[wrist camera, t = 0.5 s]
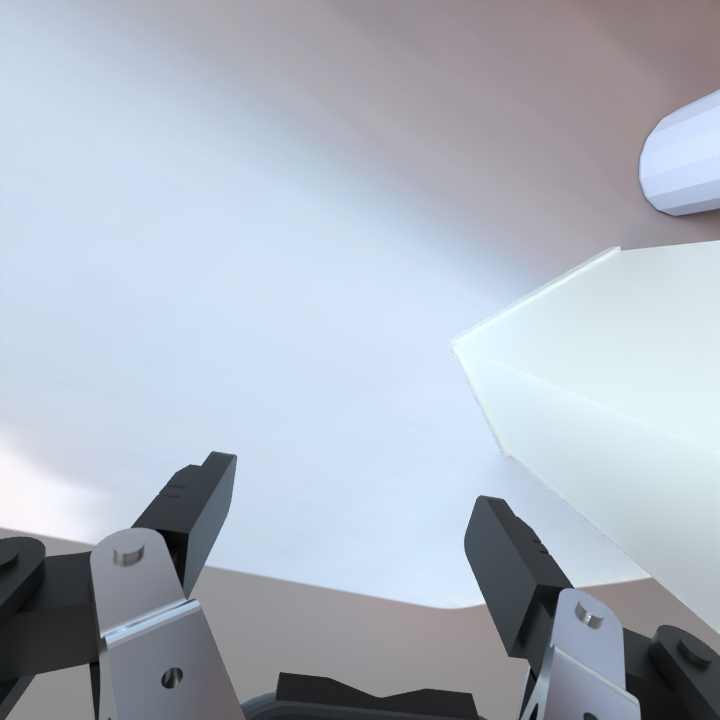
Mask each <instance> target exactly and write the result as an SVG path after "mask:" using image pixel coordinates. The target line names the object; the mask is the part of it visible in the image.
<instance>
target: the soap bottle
mask: <svg viewBox="0 0 720 720" xmlns="http://www.w3.org/2000/svg"><path fill="white" fill-rule="evenodd" d="M639 180H640V183H641V186H642V189H643V192H644V195H645V198H646V199H647V200H648V201H649V202H650V203H651V204H652V205H653V206H654V207H655V208H656V209H657V210H659V211H662V212H665V213H668V214H670V215H673V216H677V215H685V214H692V213H697V212H703V211H708V210H714V209H719V208H720V90H718V91H716V92H713V93H711V94H709V95H707V96H705V97H703V98H701V99H699V100H697V101H694V102H692V103H690V104H688V105H686V106H684V107H682V108H680V109H678V110H676V111H675V112H673V113H671V114H670V115H668V116H667V117H665V118H663V119H662V120H661V121H660V122H659V124H658V125H657V126H656V127H655V129H654V130H653V131H652V133H651V134H650V135H649V136H648V138H647V140H646V143H645V145H644V148H643V151H642V154H641V157H640V166H639Z"/></svg>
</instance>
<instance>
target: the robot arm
mask: <svg viewBox="0 0 720 720" xmlns="http://www.w3.org/2000/svg"><path fill="white" fill-rule="evenodd" d="M236 462H237V456H236V455H233V454H227V453H221V452H215V451H212V452H211V453H210V455H209V456H208V457H207V459H206V460H205V462H204V463H203V464H202V466H197V465H191V464H190V465H188V466H187V467H185V468H183V469H181V470H180V471H178V472H176V473H175V474H174V475H173V477H172V478H171V479H170V480H169V482H168V483H167V485H166V486H164V488H163V489H162V490H161V491H160V493H159V495H157V496H156V497H155V499H154V500H153V501H152V502H151V504H150V505H149V506H148V507H147V508H146V510H145V511H144V512H143V513H142V515H141V516H140V517H139V518H138V519H137V521H136V522H135V523H134V524H133V526H132V527H131V528H130V529H125V530H122V531H118V532H116V533H114V534H111V535H110V536H108V537H106V538H105V539H103V540H102V541H101V542H100V543H98V544H97V546H96V547H95V548H94V550H93V551H90V552H85V553H77V554H69V555H58V556H49V557H46V556H45V553H46V552H45V546H44V544H43V543H42V542H41V541H39V540H37V539H34V538H29V537H11V538H4V539H0V720H5V719H6V717H7V716H8V714H9V713H10V711H11V710H12V709H13V707H14V706H15V704H16V703H17V701H18V700H19V699H20V697H21V696H22V694H23V693H24V691H25V690H26V688H27V687H28V685H29V684H30V683H31V681H32V679H33V678H34V677H35V675H36V674H40V673H45V672H50V671H55V670H59V669H64V668H69V667H74V666H79V665H84V664H87V673H88V683H89V693H90V703H91V713H92V720H487V719H485V718H484V717H482V716H479V715H478V714H477V710H476V707H475V703H474V700H473V697H472V694H471V693H462V692H453V691H444V690H435V689H422V690H417V691H412V692H407V693H403V694H398V695H393V696H389V697H384V698H379V697H375V696H372V695H369V694H367V693H365V692H362V691H360V690H357V689H355V688H353V687H350V686H348V685H345V684H343V683H340V682H338V681H336V680H333V679H331V678H327V677H318V676H309V675H300V674H290V673H282V672H280V674H279V679H278V684H277V689H276V692H272V693H268V694H264V695H261V696H259V697H255V698H253V699H251V700H249V701H247V702H245V703H243V704H241V705H240V703H239V701H238V698H237V696H236V693H235V691H234V688H233V686H232V683H231V681H230V678H229V676H228V673H227V671H226V668H225V666H224V663H223V661H222V658H221V656H220V653H219V651H218V648H217V646H216V643H215V640H214V638H213V635H212V633H211V630H210V628H209V625H208V623H207V620H206V618H205V615H204V613H203V610H202V608H201V606H200V604H199V602H198V601H197V600H196V599H192V600H190V601H187V600H188V598H189V596H190V594H191V591H192V589H193V587H194V585H195V583H196V581H197V578H198V577H199V574H200V572H201V570H202V568H203V566H204V564H205V562H206V560H207V557H208V555H209V553H210V551H211V549H212V547H213V545H214V543H215V540H216V538H217V536H218V534H219V532H220V530H221V528H222V526H223V523H224V521H225V519H226V517H227V514H228V511H229V507H230V503H231V498H232V491H233V484H234V477H235V470H236ZM464 548H465V553H466V556H467V559H468V561H469V563H470V566H471V568H472V571H473V573H474V575H475V578H476V580H477V582H478V585H479V587H480V590H481V592H482V594H483V597H484V599H485V601H486V604H487V606H488V609H489V611H490V613H491V616H492V618H493V620H494V623H495V625H496V628H497V630H498V632H499V635H500V637H501V639H502V642H503V644H504V647H505V649H506V651H507V654H508V656H509V657H515V658H524V659H527V660H528V662H529V664H530V667H529V669H528V672H527V674H526V677H525V681H524V686H523V690H522V694H521V698H520V703H519V707H518V712H517V715H516V720H720V656H719V655H718V654H717V653H716V652H715V651H714V650H713V649H711V648H710V647H709V646H707V645H706V644H705V643H704V642H702V641H701V640H699V639H698V638H696V637H695V636H693V635H692V634H690V633H688V632H686V631H684V630H682V629H680V628H677V627H674V626H670V625H662V626H659V627H658V629H657V631H656V633H655V635H654V637H653V639H651V638H648V637H645V636H643V635H640V634H638V633H635V632H633V631H630V630H628V629H625V628H623V627H622V626H621V624H620V622H619V620H618V619H617V617H616V616H615V615H614V613H613V612H612V611H611V610H610V609H609V608H608V607H607V606H606V605H604V604H603V603H602V602H601V601H599V600H598V599H596V598H595V597H593V596H591V595H589V594H588V593H586V592H583V591H581V590H577V589H575V588H574V587H573V585H572V584H571V583H570V581H569V580H568V578H567V577H566V576H565V574H564V573H563V571H562V570H561V569H560V567H559V566H558V564H557V563H556V562H555V560H554V559H553V557H552V556H551V555H549V552H548V550H547V549H546V548H545V546H544V545H543V544H541V541H540V539H539V538H538V536H537V535H536V534H535V532H534V531H533V529H532V528H531V527H529V526H528V525H527V524H526V523H525V522H524V521H522V520H521V519H520V518H519V517H516V516H515V514H514V513H513V511H512V510H511V509H510V507H509V506H508V504H507V503H506V501H505V500H504V499H501V498H495V497H488V496H482V495H481V496H479V497H478V498H477V500H476V502H475V505H474V508H473V512H472V515H471V518H470V521H469V524H468V527H467V530H466V534H465V539H464Z"/></svg>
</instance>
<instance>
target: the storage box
mask: <svg viewBox="0 0 720 720" xmlns="http://www.w3.org/2000/svg"><path fill="white" fill-rule="evenodd" d="M447 342H448V345H449V347H450V349H451V351H452V353H453V355H454V357H455V359H456V361H457V363H458V365H459V367H460V369H461V371H462V373H463V375H464V377H465V379H466V381H467V383H468V385H469V387H470V389H471V391H472V393H473V395H474V397H475V399H476V401H477V403H478V405H479V407H480V409H481V411H482V414H483V416H484V418H485V420H486V422H487V424H488V426H489V428H490V430H491V432H492V434H493V436H494V438H495V440H496V442H497V444H498V446H499V448H500V450H501V452H502V453H503V454H504V455H505V456H506V457H507V458H510V457H511V456H513V457H514V458H515V459H516V460H517V461H518V462H519V463H521V464H522V465H523V466H524V467H525V468H526V469H528V470H529V471H530V472H531V473H532V474H533V475H535V476H536V477H537V478H538V479H539V480H540V481H542V482H543V483H544V484H545V485H546V486H547V487H549V488H550V489H551V490H552V491H553V492H554V493H556V494H557V495H558V496H559V497H560V498H561V499H563V500H564V501H565V502H566V503H567V504H568V505H569V506H571V507H572V508H573V509H574V510H575V511H576V512H578V513H579V514H580V515H581V516H582V517H583V518H585V519H586V520H587V521H588V522H589V523H590V524H592V525H593V526H594V527H595V528H596V529H597V530H599V531H600V532H601V533H602V534H603V535H604V536H606V537H607V538H608V539H609V540H610V541H611V542H613V543H614V544H615V545H616V546H617V547H618V548H619V549H621V550H622V551H623V552H624V553H625V554H626V555H628V556H629V557H630V558H631V559H632V560H633V561H635V562H636V563H637V564H638V565H639V566H640V567H642V568H643V569H644V570H645V571H646V572H647V573H649V574H650V575H651V576H652V577H653V578H654V579H656V580H657V581H658V582H659V583H660V584H661V585H663V586H664V587H665V588H666V589H667V590H668V591H669V592H671V593H672V594H673V595H674V596H675V597H677V598H678V599H679V600H680V601H681V602H682V603H683V604H685V605H686V606H687V607H688V608H689V609H690V610H692V611H693V612H694V613H695V614H696V615H697V616H699V617H700V618H701V619H702V620H703V621H704V622H706V623H707V624H708V625H709V626H710V627H711V628H713V629H714V630H715V631H716V632H717V633H718V634H720V240H719V241H710V242H700V243H690V244H681V245H671V246H662V247H652V248H643V249H633V250H623V251H621V248H620V246H617V247H609V248H607V249H605V250H603V251H602V252H600V253H598V254H596V255H595V256H593V257H591V258H589V259H588V260H586V261H584V262H582V263H581V264H579V265H577V266H575V267H574V268H572V269H570V270H568V271H567V272H565V273H563V274H561V275H560V276H558V277H556V278H554V279H553V280H551V281H549V282H547V283H546V284H544V285H542V286H541V287H539V288H537V289H535V290H534V291H532V292H530V293H528V294H527V295H525V296H523V297H521V298H520V299H518V300H516V301H514V302H513V303H511V304H509V305H507V306H506V307H504V308H502V309H500V310H499V311H497V312H495V313H493V314H492V315H490V316H488V317H486V318H485V319H483V320H481V321H479V322H478V323H476V324H474V325H472V326H471V327H469V328H467V329H465V330H464V331H462V332H460V333H458V334H457V335H455V336H453V337H451V338H450V339H448V340H447Z"/></svg>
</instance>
